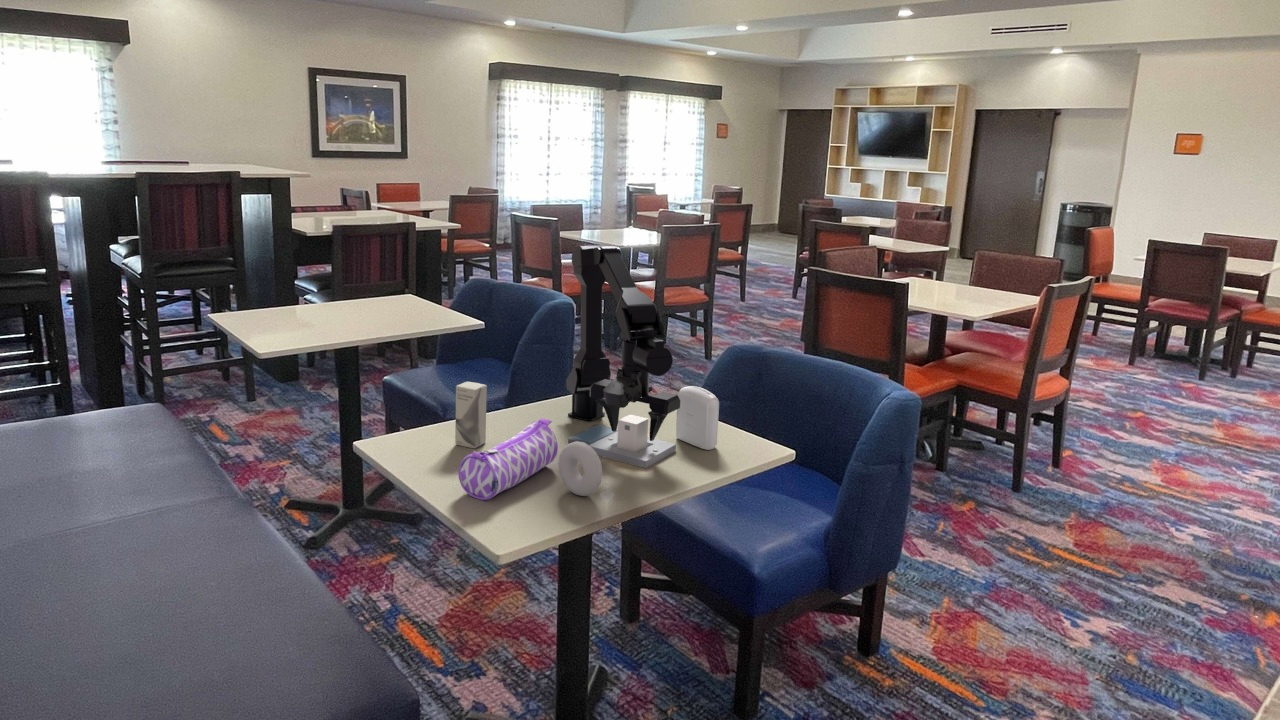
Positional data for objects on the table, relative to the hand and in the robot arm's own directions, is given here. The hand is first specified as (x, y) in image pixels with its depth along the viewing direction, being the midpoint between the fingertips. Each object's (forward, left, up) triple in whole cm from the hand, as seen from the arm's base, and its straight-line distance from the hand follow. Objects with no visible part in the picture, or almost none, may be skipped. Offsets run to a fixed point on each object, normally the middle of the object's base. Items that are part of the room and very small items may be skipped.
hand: (632, 435), depth 171 cm
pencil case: (-10, -27, -4) cm, 29 cm away
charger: (0, 0, -3) cm, 3 cm away
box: (-29, -17, -4) cm, 34 cm away
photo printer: (+8, +13, -4) cm, 16 cm away
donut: (+4, -24, -4) cm, 25 cm away
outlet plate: (0, 0, -4) cm, 4 cm away
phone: (-11, +2, -4) cm, 12 cm away
